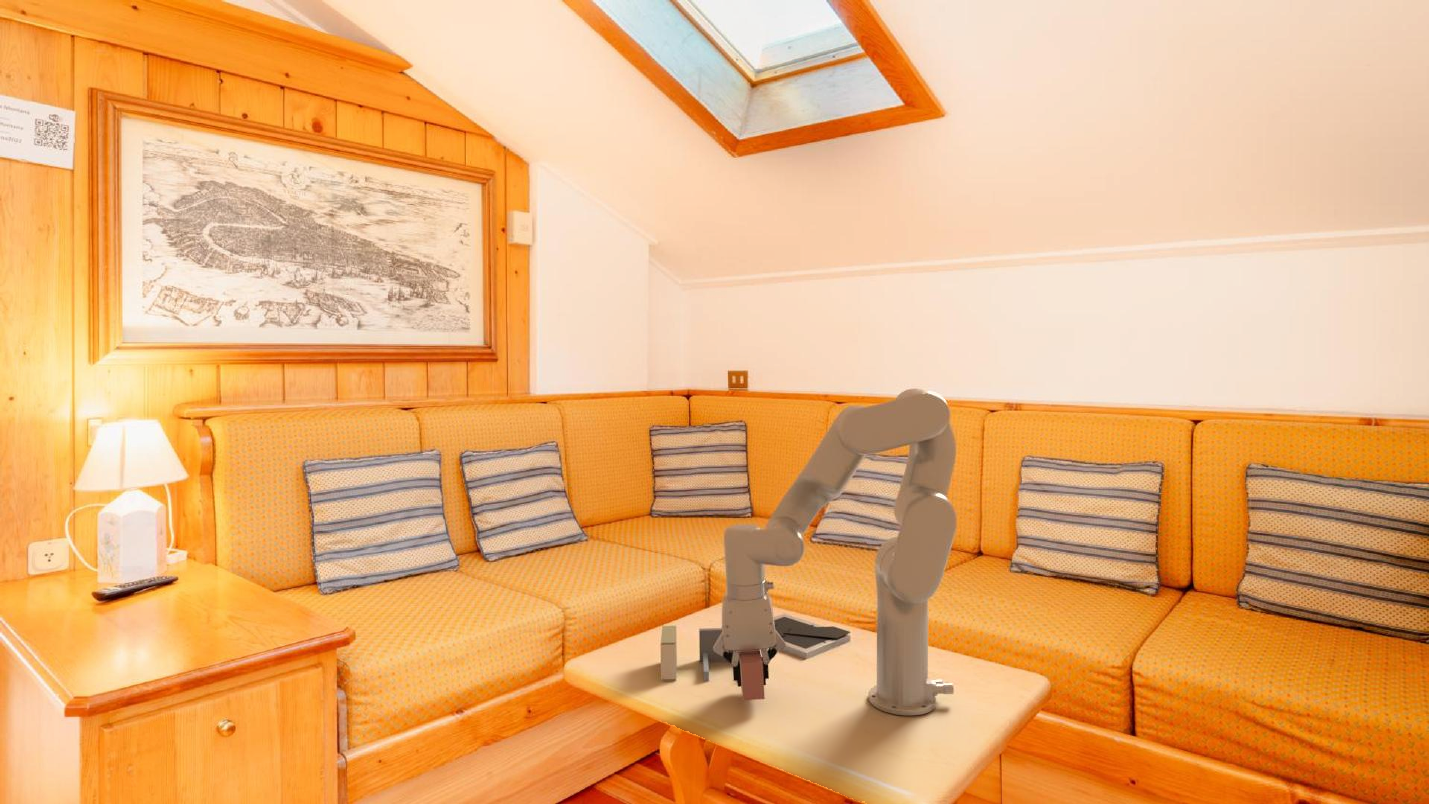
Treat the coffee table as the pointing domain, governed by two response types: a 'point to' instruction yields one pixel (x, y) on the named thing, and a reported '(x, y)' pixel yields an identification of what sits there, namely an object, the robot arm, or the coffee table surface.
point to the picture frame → (808, 636)
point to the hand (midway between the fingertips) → (751, 682)
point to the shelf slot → (709, 648)
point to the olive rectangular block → (668, 653)
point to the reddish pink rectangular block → (751, 674)
